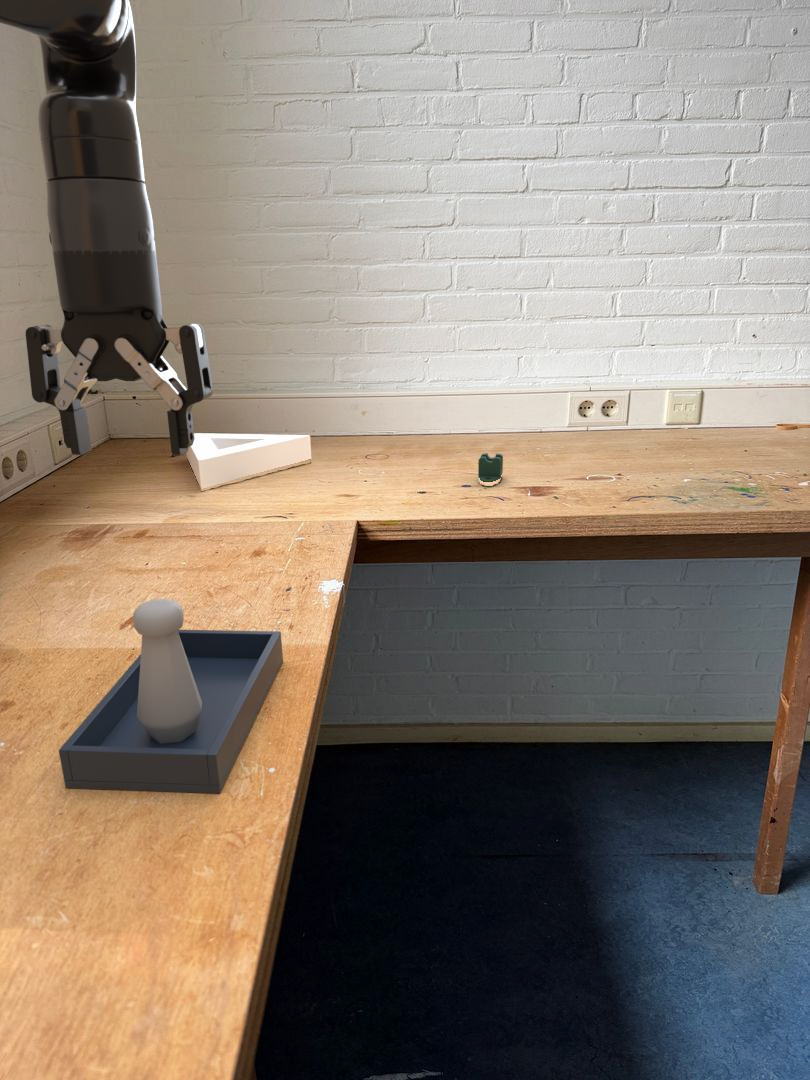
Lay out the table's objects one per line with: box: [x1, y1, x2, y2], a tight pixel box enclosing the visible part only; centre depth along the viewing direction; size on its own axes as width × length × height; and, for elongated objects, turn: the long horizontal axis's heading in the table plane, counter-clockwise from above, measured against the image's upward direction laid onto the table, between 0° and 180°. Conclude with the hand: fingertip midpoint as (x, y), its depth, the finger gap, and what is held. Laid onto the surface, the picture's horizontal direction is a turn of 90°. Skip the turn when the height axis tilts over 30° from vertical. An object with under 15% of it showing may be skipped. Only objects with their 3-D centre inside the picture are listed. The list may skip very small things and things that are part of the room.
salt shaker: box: [132, 598, 202, 744], centre depth 73 cm, size 6×6×13 cm
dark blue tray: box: [58, 629, 284, 794], centre depth 78 cm, size 14×24×4 cm, turn 175°
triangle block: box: [185, 432, 312, 490], centre depth 169 cm, size 30×26×6 cm
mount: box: [477, 452, 504, 482], centre depth 162 cm, size 11×4×5 cm, turn 167°
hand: (130, 453), depth 67 cm, fingers open, 8 cm apart
